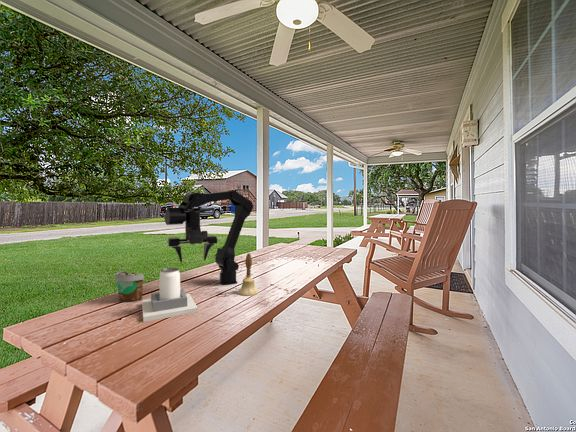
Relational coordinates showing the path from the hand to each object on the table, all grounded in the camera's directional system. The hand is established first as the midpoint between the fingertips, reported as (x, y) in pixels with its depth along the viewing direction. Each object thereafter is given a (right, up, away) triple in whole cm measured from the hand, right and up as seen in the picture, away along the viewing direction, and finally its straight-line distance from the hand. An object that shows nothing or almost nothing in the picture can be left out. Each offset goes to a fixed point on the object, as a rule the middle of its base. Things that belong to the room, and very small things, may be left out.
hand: (193, 261), depth 113 cm
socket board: (-2, -13, -19) cm, 23 cm away
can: (-1, -12, -19) cm, 23 cm away
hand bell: (+23, -13, -1) cm, 26 cm away
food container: (-21, -13, -11) cm, 27 cm away
